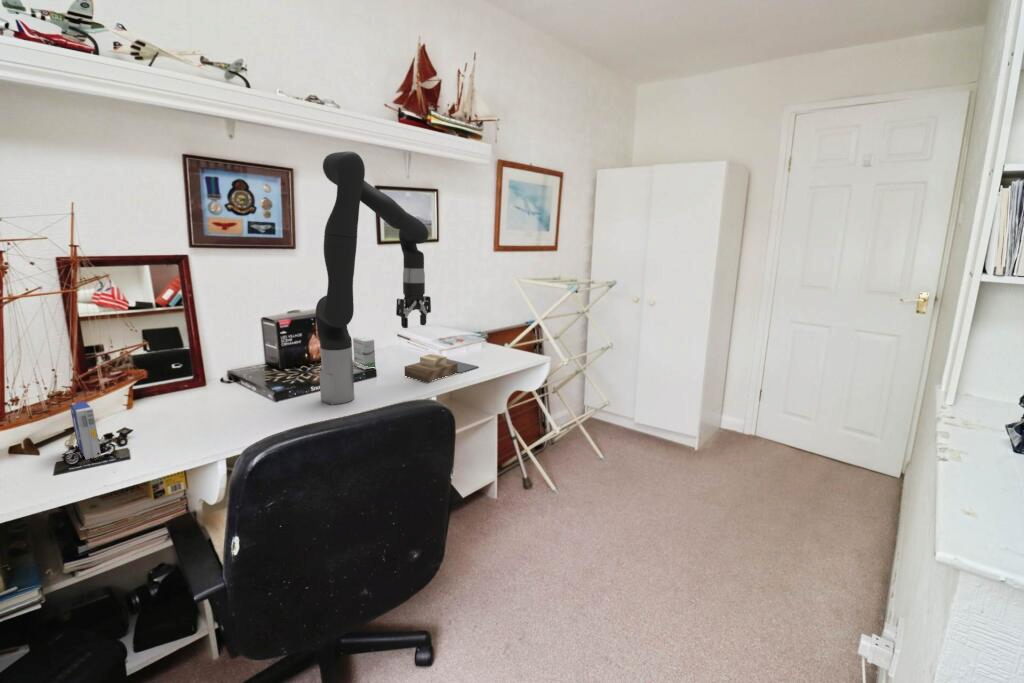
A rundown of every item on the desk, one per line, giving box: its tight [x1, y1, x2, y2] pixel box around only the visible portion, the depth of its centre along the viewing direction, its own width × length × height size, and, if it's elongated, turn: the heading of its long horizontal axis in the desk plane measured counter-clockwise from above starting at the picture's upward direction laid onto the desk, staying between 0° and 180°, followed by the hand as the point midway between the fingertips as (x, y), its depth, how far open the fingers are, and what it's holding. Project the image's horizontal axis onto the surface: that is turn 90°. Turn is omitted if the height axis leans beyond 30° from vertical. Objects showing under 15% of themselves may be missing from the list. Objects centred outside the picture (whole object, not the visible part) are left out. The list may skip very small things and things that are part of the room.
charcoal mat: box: [447, 358, 480, 374], centre depth 193 cm, size 11×18×1 cm, turn 54°
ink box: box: [352, 336, 376, 368], centre depth 187 cm, size 9×5×12 cm, turn 46°
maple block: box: [419, 353, 448, 368], centre depth 180 cm, size 7×7×3 cm
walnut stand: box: [404, 361, 459, 383], centre depth 180 cm, size 16×12×4 cm
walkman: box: [69, 401, 102, 461], centre depth 111 cm, size 8×3×12 cm, turn 52°
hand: (414, 326), depth 170 cm, fingers open, 8 cm apart
